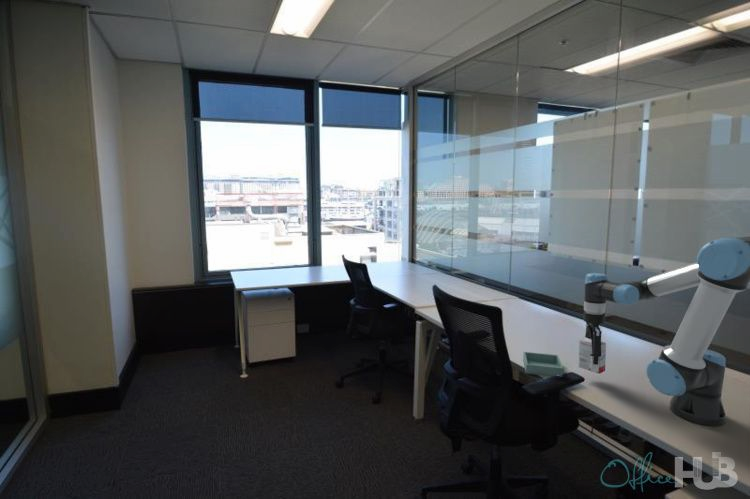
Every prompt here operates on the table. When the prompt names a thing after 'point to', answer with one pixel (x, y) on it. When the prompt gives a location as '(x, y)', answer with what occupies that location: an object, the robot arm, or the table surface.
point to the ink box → (585, 357)
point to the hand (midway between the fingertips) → (591, 366)
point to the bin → (542, 364)
